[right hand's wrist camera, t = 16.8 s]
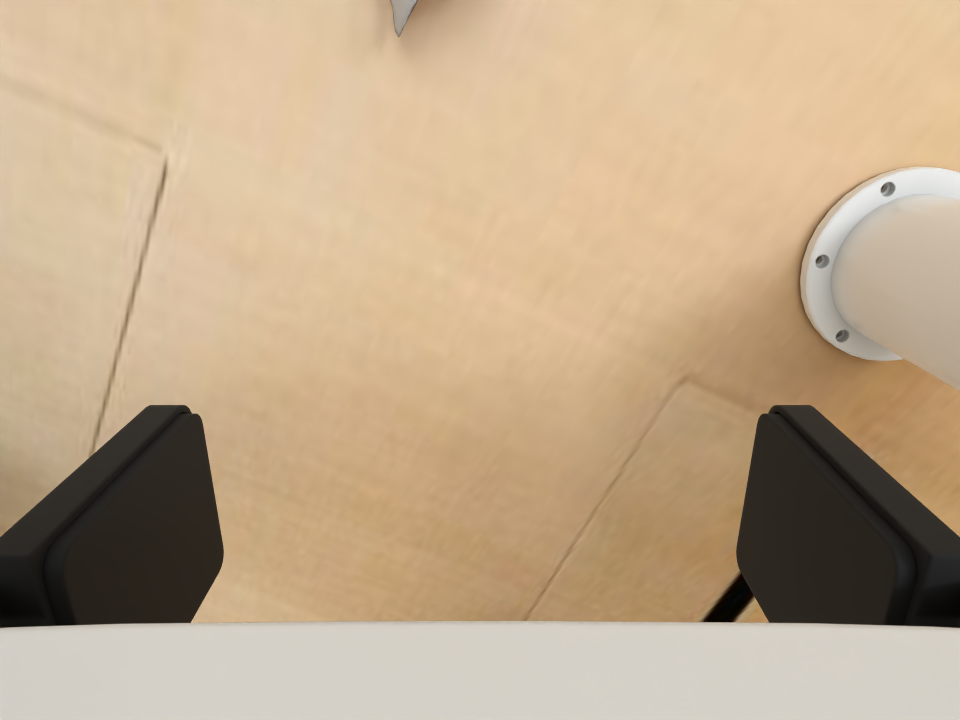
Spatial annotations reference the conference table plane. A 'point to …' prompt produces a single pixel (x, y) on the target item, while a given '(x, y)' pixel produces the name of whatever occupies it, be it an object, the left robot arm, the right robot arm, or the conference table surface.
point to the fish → (401, 13)
